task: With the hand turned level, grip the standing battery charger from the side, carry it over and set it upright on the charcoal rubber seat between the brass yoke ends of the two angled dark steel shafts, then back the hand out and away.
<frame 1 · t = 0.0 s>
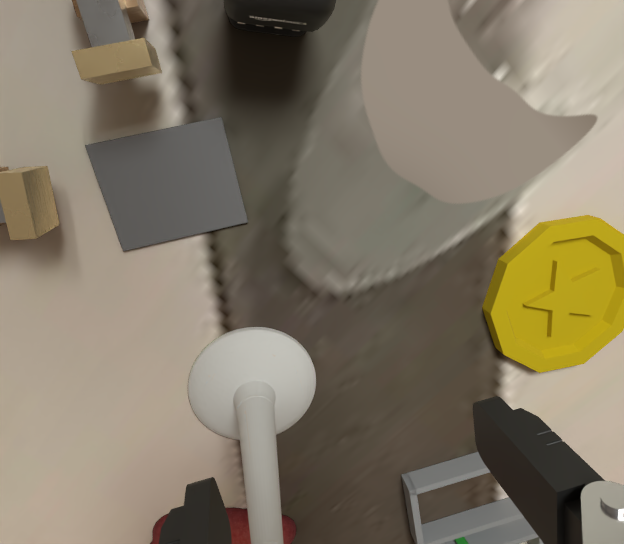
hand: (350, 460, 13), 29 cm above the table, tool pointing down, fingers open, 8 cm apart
decorative disc: (554, 292, 49), on the table
candlestick: (253, 383, 45), on the table
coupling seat: (171, 185, 38), on the table
angled shafts: (171, 185, 38), on the table
parts corral: (480, 518, 57), on the table
battery charger: (268, 17, 35), on the table
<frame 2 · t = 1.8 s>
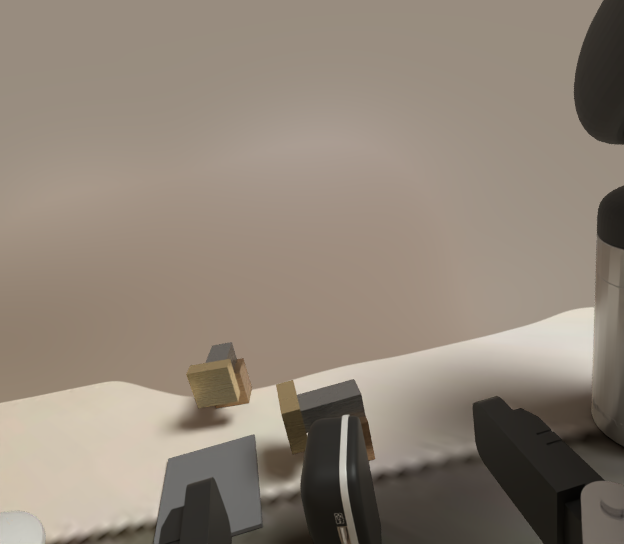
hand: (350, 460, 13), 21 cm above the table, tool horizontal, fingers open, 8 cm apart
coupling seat: (210, 490, 41), on the table
angled shafts: (210, 490, 41), on the table
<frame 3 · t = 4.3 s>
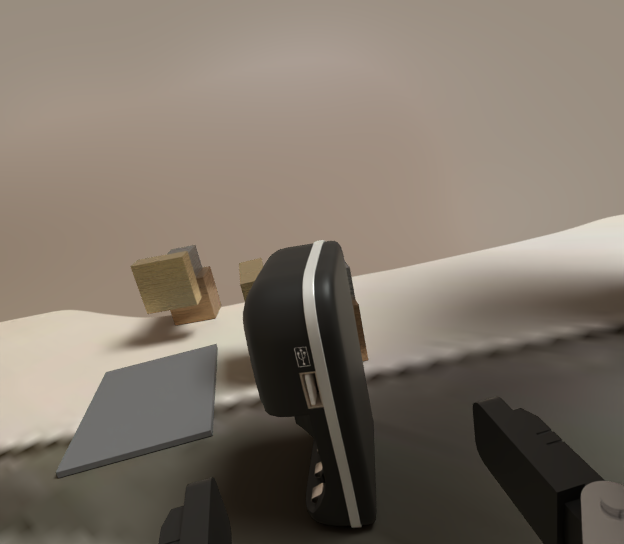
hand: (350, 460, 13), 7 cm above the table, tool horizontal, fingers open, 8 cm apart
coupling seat: (152, 401, 31), on the table
angled shafts: (152, 401, 31), on the table
battery charger: (338, 476, 22), on the table
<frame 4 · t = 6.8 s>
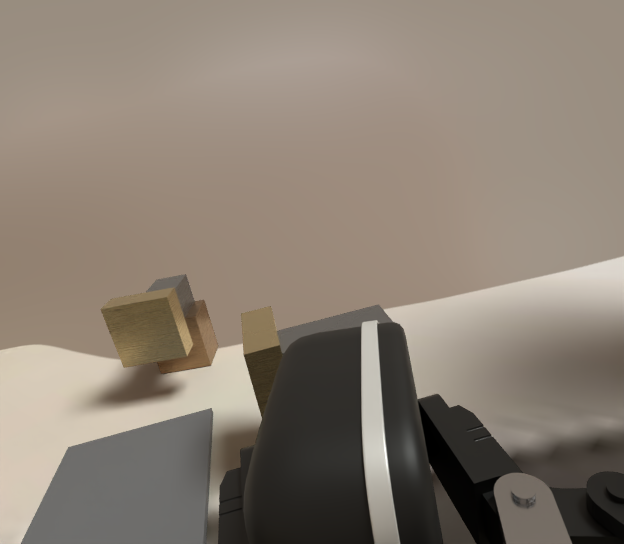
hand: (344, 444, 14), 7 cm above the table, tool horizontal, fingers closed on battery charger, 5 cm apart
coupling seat: (124, 501, 23), on the table
angled shafts: (124, 501, 23), on the table
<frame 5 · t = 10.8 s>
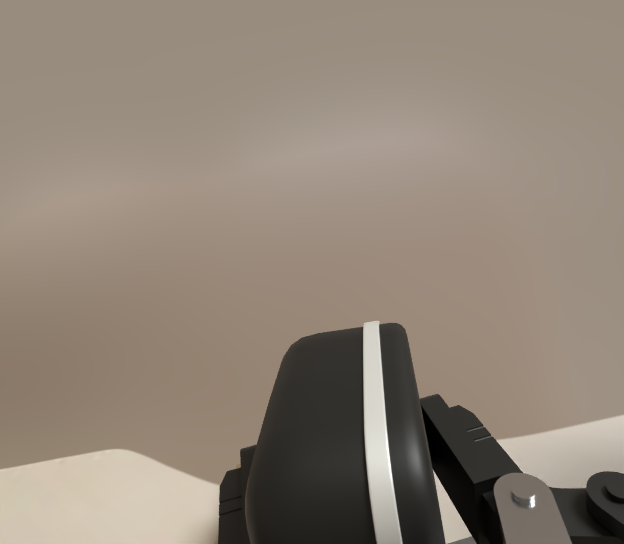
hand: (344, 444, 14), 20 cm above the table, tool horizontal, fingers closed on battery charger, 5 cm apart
when the fingers open (9 cm above the table, at t = 14.6 s): battery charger drops 1 cm, resting on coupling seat.
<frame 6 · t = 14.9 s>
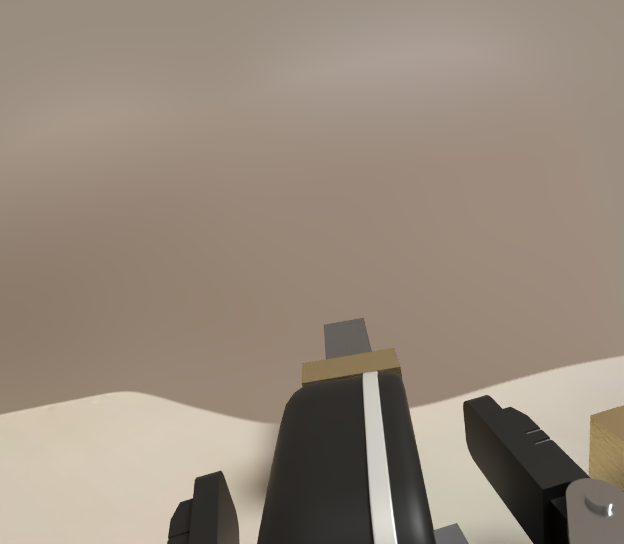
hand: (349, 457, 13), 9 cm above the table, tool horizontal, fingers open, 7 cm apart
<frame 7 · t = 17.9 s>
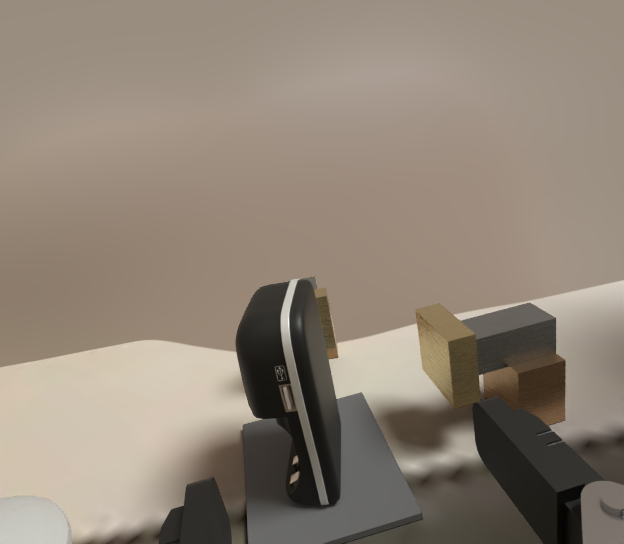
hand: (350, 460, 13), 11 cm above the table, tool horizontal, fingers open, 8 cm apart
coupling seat: (318, 466, 28), on the table
angled shafts: (318, 466, 28), on the table
battery charger: (312, 466, 27), resting on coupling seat
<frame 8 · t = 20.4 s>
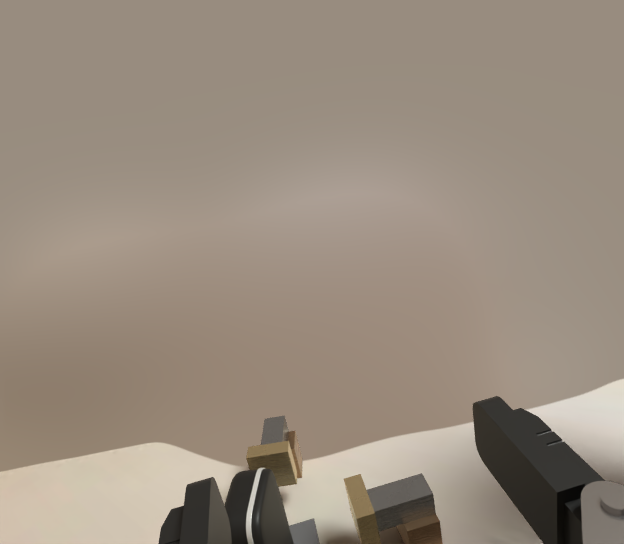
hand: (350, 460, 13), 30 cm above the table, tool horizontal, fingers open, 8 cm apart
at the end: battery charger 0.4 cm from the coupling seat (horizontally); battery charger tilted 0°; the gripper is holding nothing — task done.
